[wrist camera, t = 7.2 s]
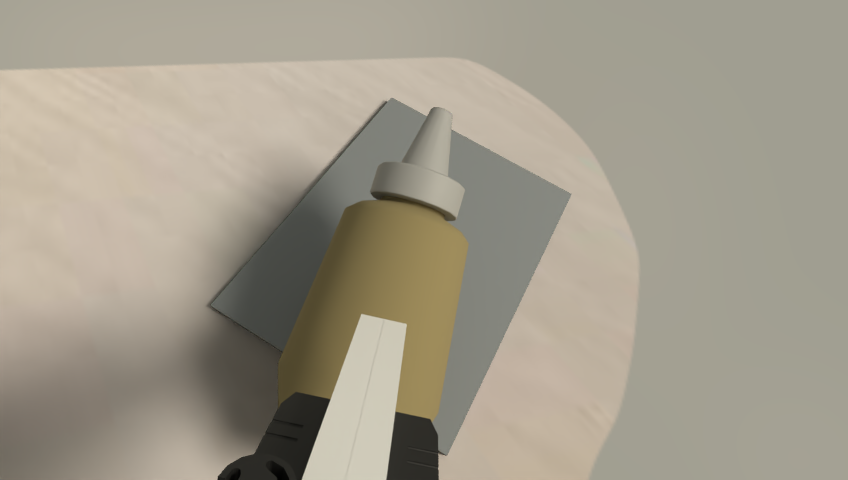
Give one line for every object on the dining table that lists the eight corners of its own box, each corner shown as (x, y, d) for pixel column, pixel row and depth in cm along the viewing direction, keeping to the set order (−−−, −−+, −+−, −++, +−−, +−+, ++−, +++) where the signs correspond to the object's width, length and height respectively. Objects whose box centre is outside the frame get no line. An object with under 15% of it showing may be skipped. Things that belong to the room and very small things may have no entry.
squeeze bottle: (228, 483, 16) (370, 46, 18) (269, 410, 24) (364, 113, 26) (432, 526, 17) (546, 111, 19) (406, 443, 25) (489, 156, 27)
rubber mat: (213, 308, 27) (210, 305, 26) (391, 102, 36) (391, 97, 35) (445, 455, 25) (447, 455, 24) (568, 198, 34) (571, 194, 34)
